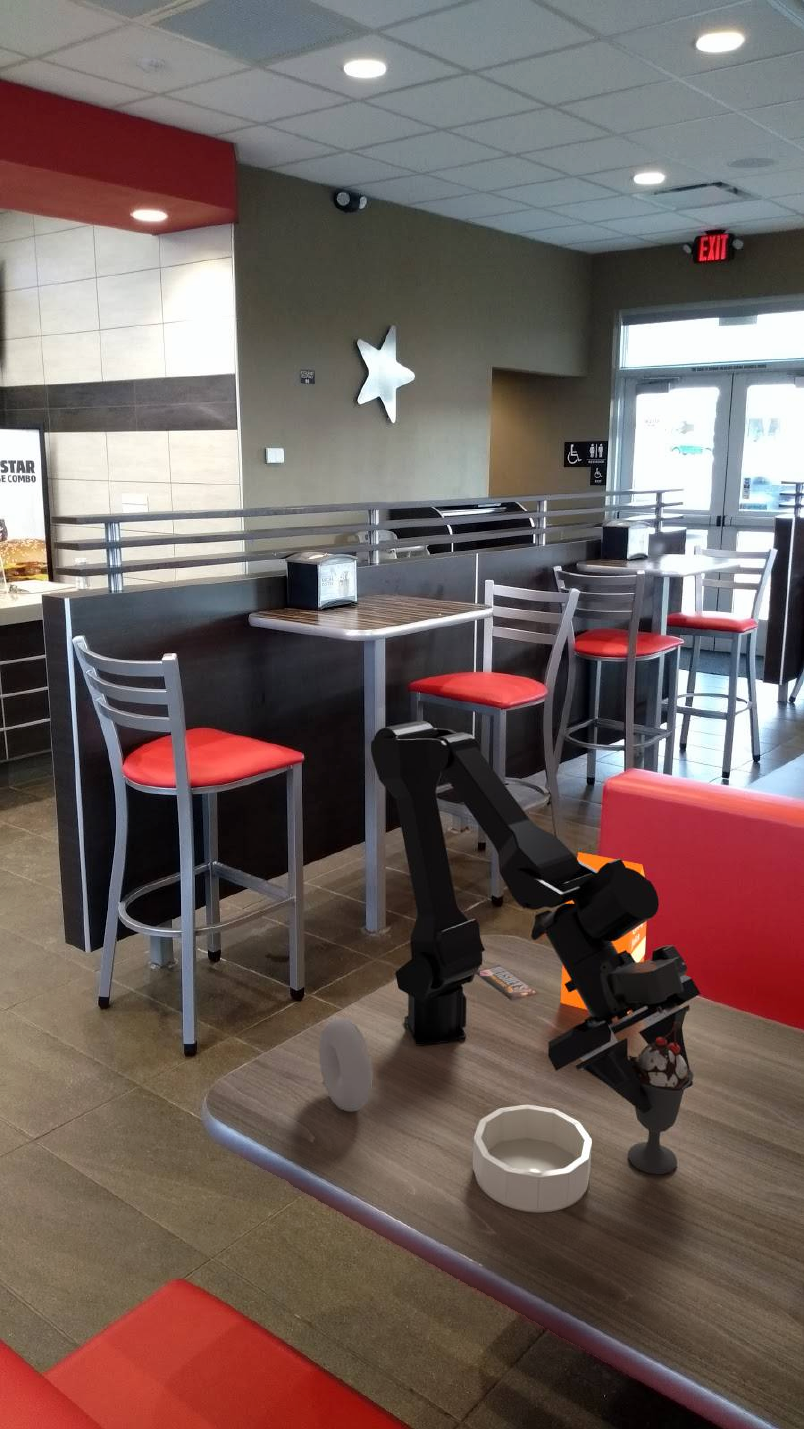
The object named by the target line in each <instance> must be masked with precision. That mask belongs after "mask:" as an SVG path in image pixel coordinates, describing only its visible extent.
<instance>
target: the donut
mask: <svg viewBox="0 0 804 1429" xmlns="http://www.w3.org/2000/svg"><path fill="white" fill-rule="evenodd" d="M318 1045H319V1047H318V1054H319V1055H318V1056H319V1065H320V1071H321V1076H322V1081H323V1083H324V1087H325V1090H326V1092H327V1093H328V1095H329V1097H330V1099H331V1100H332V1102H333V1103H334V1105H336V1106H337V1107H338V1108H339V1109H340V1110H343V1111H346V1112H356V1111H359V1110H360V1109H361V1108H362V1107H363V1106H364V1105H366V1103H367V1102H368V1100H369V1098H370V1094H371V1092H372V1083H373V1072H372V1071H373V1070H372V1062H371V1056H370V1053H369V1052H370V1051H369V1049H368V1045H367V1043H366V1040H365V1039H364V1035H363V1034H362V1033H361V1030H360V1029H359V1027H358V1026H357V1025H356V1024H355V1023H353V1022H352V1021H351V1019H348V1018H345V1017H342V1018H341V1017H340V1018H339V1017H338V1018H333V1019H331V1020H330V1021H328V1022H327V1023H326V1024H325V1026H324V1027H323V1029H322V1030H321V1034H320V1038H319V1044H318Z"/></svg>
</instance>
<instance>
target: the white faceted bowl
mask: <svg viewBox="0 0 804 1429" xmlns="http://www.w3.org/2000/svg"><path fill="white" fill-rule="evenodd" d="M592 1143H593V1139H592V1138H591V1136H590V1135H589V1133H588V1132H587V1131H586V1129H585V1128H584V1126H583V1125H582V1123H581V1122H580V1121H578V1120H576V1119H575V1118H573V1117H570V1116H569V1115H567V1114H565V1113H563V1112H562V1111H560V1110H558V1109H556V1108H550V1107H546V1106H540V1105H539V1106H538V1105H532V1104H521V1105H513V1106H508V1107H507V1106H506V1107H500V1108H498V1109H496V1110H494V1111H492V1112H491V1113H489V1114H488V1115H486V1116H484V1117H483V1118H482V1119H480V1120H479V1122H478V1125H477V1127H476V1130H475V1134H474V1136H473V1149H472V1151H473V1154H472V1170H473V1171H474V1178H475V1180H476V1183H477V1185H478V1187H479V1188H480V1189H481V1191H483V1192H484V1194H485V1195H487V1196H488V1197H489V1198H491V1199H492V1200H494V1201H495V1202H497V1203H499V1204H500V1205H503V1206H504V1207H507V1208H510V1209H512V1210H516V1211H521V1212H526V1213H536V1214H537V1213H551V1212H556V1211H557V1212H558V1211H561V1210H564V1209H566V1208H569V1207H571V1206H572V1205H574V1204H576V1203H577V1202H579V1200H581V1199H582V1198H583V1196H584V1195H585V1193H586V1191H587V1190H588V1186H589V1180H590V1179H589V1178H590V1173H591V1163H592V1162H591V1161H592V1159H591V1158H592V1146H593V1144H592Z"/></svg>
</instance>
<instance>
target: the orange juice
mask: <svg viewBox="0 0 804 1429" xmlns="http://www.w3.org/2000/svg"><path fill="white" fill-rule="evenodd" d="M577 853H578V854H577V856H576V858H577V860H579V861H581V862H582V863H584V864H586V865H588V866H590V867H591V868H593V869H595V870H597V871H599V869H600V868H601V867H602V866H604V865H605V864H606V863H608V862H610V861H613V860H616V858H610V857H607V856H606V857H605V856H601V855H600V856H599V855H596V854H589V853H583V852H580V851H579V852H577ZM622 861H623V863H624V865H625V866H626V868H630V869H633V870H635V871H637V872H639V873H640V874H641V875H643V876H644V877H645V872H644V868H643V867H644V866H643V864H641V863H636V862H631V861H626V860H622ZM645 878H646V877H645ZM567 903H573V904H574V902H573V900H572V901H569V902H566V903H565V904H567ZM646 932H647V921H646V922H644V923H643V924H641V925H640V926H638V927H637V928H635V929H634V930H632V931H631V932H629V933H628V934H626V935H625V936H623V937H622V938H620V939H619V940H617V941H612V943H613V945H614V946H615V948H616V950H617V952H618V953H620V952H623V951H625V950H626V951H627V952H628V953H630V954H631V955H632V957H633V959H634V960H635V961H636V962H643V961H645V954H646V938H647V936H646V935H647V934H646ZM561 967H562V968H561V970H562V971H561V988H560V989H561V990H560V1003H561V1004H563V1005H567V1006H571V1007H576V1008H579V1009H583V1010H586V1011H588V1010H587V1008H586V1006H585V1004H584V1002H583V1001H582V999H581V997H580V995H579V993H578V992H577V990H574V991H572V992H570V993H569V992H568V990H567V988H566V987H565V985H564V984H565V983H567V982H568V981H570V980H571V979H570V977H569V975H568V973H567V972H566V970H565V968H564V966H563V965H562V966H561ZM630 1012H631V1011H629V1012H627V1013H628V1014H630Z"/></svg>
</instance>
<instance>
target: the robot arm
mask: <svg viewBox="0 0 804 1429" xmlns="http://www.w3.org/2000/svg"><path fill="white" fill-rule="evenodd" d="M479 748H480V747H479V744H478V741H477V740H476V738H475V737H474V736H473V734H470V733H466V732H463V731H462V732H457V731H455V730H454V729H450V728H439V727H437V728H436V727H433V725H431V723H429V722H427V721H426V720H416V721H412V722H406V723H402V724H401V723H400V724H396V725H391V726H386V727H385V726H384V727H382V728H380V729H378V730H377V731H376V733H375V735H374V737H373V739H372V740H371V742H370V754H371V758H372V760H373V761H372V762H373V764H374V767H375V770H376V775H377V777H378V780H379V781H380V783H381V784H382V785H383V786H384V787H385V789H386V790H387V791H388V792H389V793H390V795H391V796H392V797H393V798H394V800H395V802H396V806H397V812H398V819H399V822H400V824H399V825H400V829H401V834H402V839H403V844H404V849H405V854H406V855H405V856H406V859H407V864H408V871H409V876H410V879H411V885H412V890H413V895H414V896H413V897H414V900H415V906H416V911H417V916H416V919H415V922H414V925H413V929H412V932H411V935H410V938H409V942H410V943H409V944H410V955H411V957H410V958H411V959H409V961H407V962H406V963H404V964H403V965H402V966H401V967H400V968H398V970H396V971H395V973H394V974H395V980H396V983H397V988H398V989H399V990H400V991H402V992H403V993H405V994H407V995H408V996H407V997H408V998H407V999H408V1002H407V1007H408V1008H407V1009H408V1010H407V1015H405V1016H404V1018H403V1019H404V1021H403V1022H405V1025H406V1027H407V1030H408V1032H409V1034H410V1035H411V1038H412V1039H413V1042H414V1044H415V1045H417V1046H422V1045H431V1044H440V1043H447V1042H456V1041H465V1040H466V1039H467V1034H466V1032H465V1030H464V1029H465V1028H466V1026H467V1006H468V1004H467V1002H468V1000H467V996H466V995H465V993H464V987H463V986H462V985H466V984H469V983H473V981H474V978H475V975H476V974H475V973H476V972H477V971H479V968H481V966H482V965H483V952H485V951H486V949H485V947H484V945H483V941H482V939H481V932H480V924H479V922H478V920H477V919H476V918H473V919H469V918H468V917H467V915H466V914H465V913H464V912H463V911H462V910H461V909H460V907H459V905H458V901H457V896H456V892H455V886H454V880H453V875H452V871H451V865H450V860H449V854H448V850H447V844H446V841H445V834H444V830H443V829H444V828H443V823H442V818H441V813H440V809H439V808H440V807H439V804H438V799H437V797H438V796H437V788H438V785H439V782H440V779H441V775H444V777H445V778H446V780H447V781H448V782H449V784H450V786H451V787H452V788H453V790H454V791H455V792H456V794H457V795H458V797H459V798H460V800H461V801H462V803H463V804H464V805H465V806H466V808H467V810H468V811H469V813H470V814H471V815H472V817H473V818H474V819H475V821H476V822H477V824H478V825H479V827H480V828H481V829H482V831H483V832H484V834H485V835H486V836H487V838H488V839H489V841H490V842H491V844H492V845H493V847H494V849H495V851H496V852H497V859H498V870H499V874H500V876H501V877H502V880H503V882H504V883H505V885H506V887H507V889H508V891H509V892H510V894H511V897H512V899H514V901H515V902H516V903H517V904H518V906H520V907H521V908H523V909H529V910H533V911H536V910H540V909H542V908H550V909H554V908H556V907H557V908H556V909H554V910H553V911H551V910H549V909H546V910H543V911H541V912H539V913H536V914H535V916H534V924H533V927H532V930H531V935H530V937H531V939H532V940H533V941H536V940H539V939H541V938H542V939H543V938H544V937H547V939H548V941H549V942H550V944H551V946H552V948H553V950H554V951H555V953H556V955H557V957H558V959H559V960H560V962H561V964H562V967H563V966H564V968H565V970H566V972H567V973H568V975H569V977H570V979H571V980H570V981H568V982H567V983H565V984H564V985H565V987H566V988H567V990H568V992H569V993H570V992H572V991H574V990H577V992H578V993H579V995H580V997H581V999H582V1001H583V1002H584V1004H585V1006H586V1008H587V1010H586V1011H588V1013H589V1016H588V1017H586V1018H585V1019H584V1020H583V1022H581V1023H578V1024H577V1025H576V1026H573V1027H571V1028H570V1029H568V1030H567V1031H564V1032H563V1033H561V1034H560V1035H558V1036H556V1037H554V1038H553V1039H551V1040H549V1041H548V1042H547V1058H548V1059H549V1061H550V1063H551V1064H552V1066H553V1068H554V1069H555V1072H557V1071H560V1070H561V1069H562V1068H565V1067H567V1066H569V1065H571V1064H572V1063H575V1062H576V1061H577V1060H578V1059H581V1062H580V1063H578V1064H576V1065H574V1067H575V1069H576V1070H577V1071H579V1070H582V1069H583V1070H584V1071H585V1072H587V1073H589V1075H591V1076H593V1077H595V1078H596V1079H598V1080H599V1081H601V1082H602V1083H604V1084H605V1085H607V1086H608V1087H609V1088H610V1089H612V1090H613V1091H615V1092H616V1093H617V1094H619V1095H620V1096H621V1098H623V1099H624V1100H626V1101H627V1102H628V1103H630V1104H631V1105H632V1106H634V1108H635V1107H636V1108H637V1109H639V1110H640V1111H641V1112H642V1113H647V1112H650V1111H651V1110H652V1106H651V1104H650V1101H649V1099H648V1097H647V1094H646V1092H645V1090H644V1088H643V1086H642V1084H641V1083H640V1081H639V1079H638V1077H637V1075H636V1073H635V1071H634V1069H633V1067H632V1065H631V1063H630V1061H629V1059H630V1058H629V1056H628V1042H629V1041H628V1037H626V1038H624V1039H623V1038H622V1040H620V1041H619V1040H618V1039H617V1037H616V1035H617V1034H618V1033H621V1032H622V1031H624V1030H626V1029H628V1028H630V1027H632V1026H634V1025H635V1024H638V1023H640V1022H643V1024H644V1026H645V1028H643V1029H642V1030H640V1031H638V1033H639V1035H640V1037H642V1039H643V1040H644V1042H646V1044H647V1045H649V1044H652V1043H654V1042H655V1041H656V1039H657V1038H658V1037H662V1038H664V1037H665V1036H666V1035H668V1034H669V1033H670V1032H671V1031H672V1028H673V1026H674V1022H679V1023H680V1025H679V1026H678V1027H677V1030H676V1044H678V1045H679V1047H680V1052H679V1054H680V1055H681V1056H682V1058H683V1059H684V1060H685V1063H686V1065H687V1067H688V1068H689V1069H690V1065H689V1060H688V1059H689V1058H688V1055H687V1051H686V1045H685V1040H684V1033H683V1025H684V1021H685V1017H686V1014H687V1012H689V1011H690V1007H691V1006H690V1004H688V1005H685V1006H684V1007H682V1008H680V1006H681V1005H684V1004H686V1003H687V1002H688V1001H691V1000H692V999H694V998H695V997H697V996H699V995H701V991H700V990H699V988H698V986H697V985H696V983H695V982H694V980H693V978H692V977H690V976H688V975H686V973H687V971H688V967H687V964H685V960H684V958H683V957H682V955H681V954H680V952H679V951H678V949H676V947H675V945H673V944H672V945H662V946H660V947H658V948H656V949H654V950H653V951H652V953H651V958H648V959H645V960H644V961H643V962H636V961H635V960H634V959H633V957H632V955H631V954H630V953H628V952H627V951H626V950H625V951H623V952H620V953H618V952H617V950H616V948H615V946H614V945H613V943H612V941H617V940H619V939H620V938H622V937H623V936H625V935H626V934H628V933H629V932H631V931H632V930H634V929H635V928H637V927H638V926H640V925H641V924H643V923H644V922H646V923H647V922H648V921H649V920H650V919H652V918H653V917H654V916H656V914H657V913H658V911H659V905H660V902H659V897H658V893H657V890H656V888H655V885H654V884H653V883H652V881H651V880H649V879H647V878H646V877H644V876H645V875H644V876H643V875H641V874H640V873H639V872H637V871H635V870H633V869H630V868H626V866H625V865H624V863H623V861H624V860H622V858H617V859H616V858H615V859H616V860H613V861H610V862H608V863H606V864H605V865H604V866H602V867H601V868H600V869H599V871H597V870H595V869H593V868H591V867H590V866H588V865H586V864H584V863H582V862H581V861H579V860H577V856H576V855H575V854H574V853H573V852H572V851H571V850H570V849H569V848H568V847H567V846H566V845H565V844H564V843H563V841H561V840H560V839H559V838H558V837H557V836H556V835H554V834H552V833H551V832H549V831H547V830H545V829H543V828H541V827H539V826H538V825H536V824H535V823H534V822H533V821H532V819H531V818H530V817H529V816H528V815H527V813H526V812H525V811H524V810H523V808H522V807H521V805H520V804H519V803H518V802H517V800H516V798H515V797H514V796H513V795H512V793H511V791H510V790H509V789H508V788H507V786H506V785H505V783H503V781H502V780H501V779H500V777H499V776H498V774H497V773H496V771H495V770H494V768H493V767H492V766H491V765H490V763H489V761H487V759H486V758H485V757H484V755H483V754H482V753H481V751H480V750H479ZM572 900H573V902H574V904H573V903H567V904H566V902H569V901H572ZM558 906H559V907H558ZM629 1011H630V1012H631V1011H632V1012H631V1013H630V1012H629ZM627 1012H629V1013H627ZM615 1018H616V1019H617V1020H616V1021H614V1020H613V1019H615ZM675 1029H676V1025H675V1027H674V1029H673V1031H672V1032H671V1034H670V1035H669V1036H668V1037H666V1038H665V1040H666V1041H667V1045H669V1044H670V1043H674V1034H675ZM690 1070H691V1069H690ZM693 1084H694V1083H693V1080H692V1082H691V1083H690V1085H689V1086H688V1087H687V1088H686V1089H688V1088H690V1087H692V1086H693Z"/></svg>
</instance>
